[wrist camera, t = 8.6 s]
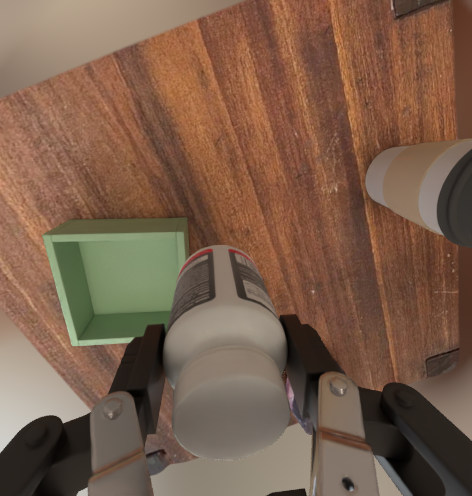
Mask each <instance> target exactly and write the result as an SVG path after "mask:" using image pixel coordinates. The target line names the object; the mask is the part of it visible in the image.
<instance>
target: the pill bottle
mask: <svg viewBox="0 0 472 496" xmlns="http://www.w3.org/2000/svg"><path fill="white" fill-rule="evenodd" d="M287 357H288V346H287V340H286V336H285V333H284V330H283V327H282V325H281V323H280V321H279V318H278V316H277V314H276V311H275V309H274V306H273V304H272V302H271V299H270V297H269V295H268V292H267V289H266V287H265V285H264V282H263V280H262V277H261V275H260V273H259V270H258V268H257V266H256V264H255V263H254V261H253V260H252V259H251V258H250V257H249V256H248V255H247V254H246V253H245V252H243V251H241V250H240V249H237V248H235V247H232V246H227V245H213V246H209V247H205V248H202V249H200V250H198V251H197V252H195V253H194V254H192V255H191V256H190V257H189V258H188V259H187V260H186V261H185V263H184V264H183V266H182V268H181V270H180V272H179V275H178V278H177V282H176V287H175V293H174V298H173V303H172V308H171V312H170V317H169V322H168V326H167V331H166V336H165V341H164V347H163V367H164V371H165V374H166V377H167V379H168V381H169V383H170V384H171V386H172V387H173V388H174V391H173V412H172V429H173V433H174V436H175V438H176V439H177V441H178V442H179V444H180V445H181V446H182V447H183V448H184V449H185V450H187V451H188V452H190V453H192V454H193V455H195V456H198V457H201V458H205V459H209V460H217V461H218V460H219V461H228V460H237V459H242V458H246V457H249V456H252V455H254V454H257V453H259V452H261V451H263V450H265V449H266V448H268V447H269V446H271V445H272V444H273V443H274V442H276V441H277V439H279V437H280V436H281V435H282V433H283V432H284V431H285V429H286V427H287V425H288V423H289V419H290V403H289V399H288V395H287V392H286V389H285V386H284V382H283V379H282V376H281V375H282V374H283V371H284V369H285V366H286V363H287Z"/></svg>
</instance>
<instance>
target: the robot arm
mask: <svg viewBox="0 0 472 496" xmlns="http://www.w3.org/2000/svg"><path fill="white" fill-rule="evenodd" d="M279 321H280V323H281V325H282V327H283V330H284V333H285V336H286V340H287V346H288V357H287V363H286V366H285V371H286V374H287V376H288V379H289V382H290V385H291V388H292V391H293V394H294V397H295V400H296V403H297V406H298V408H299V411H300V414H301V417H302V418H311V421H312V424H313V430H312V448H311V474H310V491H309V496H380V495H379V489H378V482H377V476H376V469H375V464H374V457H373V455H374V456H375V458H376V459H377V460H378V462H379V463H380V465H381V466H382V467H383V469H384V470H385V471H386V473H387V474H388V476H389V477H390V478H391V480H392V481H393V483H394V484H395V485H396V487H397V488H398V490H399V491H400V492H401V494H402V495H403V496H472V441H471V440H470V439H469V438H468V437H467V436H466V435H465V434H463V433H462V432H461V431H460V430H459V429H458V428H457V427H456V426H455V425H454V424H453V423H452V422H450V421H449V420H448V419H447V418H446V417H445V416H444V415H443V414H442V413H440V412H439V410H437V409H436V408H435V407H434V406H433V405H432V404H431V403H430V402H429V401H428V400H427V399H426V398H424V397H423V396H422V395H421V394H420V393H419V392H418V391H416V390H415V389H413V388H412V387H409V386H407V385H405V384H402V383H396V382H394V383H388V384H386V385H385V386H384V388H383V391H382V392H381V391H376V390H370V389H365V388H361V387H358V386H357V385H356V383H355V382H354V381H353V380H352V379H351V378H350V377H348V376H346V375H345V374H342V373H340V371H339V369H338V367H337V366H336V364H335V362H334V361H333V359H332V357H331V355H330V354H329V352H328V350H327V349H326V347H325V345H324V343H323V342H322V341H321V338H320V336H319V335H318V333H317V331H316V330H315V329H313V328H312V327H311V326H310V325H308V324H301V323H300V321H299V319H298V317H297V315H296V314H290V315H280V318H279ZM165 336H166V330H165V324H164V323H162V324H148V325H147V327H146V329H145V333H144V336H140V337H135V338H134V339H133V340H132V341H131V342H130V343H129V344H128V345H127V348H126V350H125V353H124V356H123V358H122V360H121V364H120V365H119V368H118V370H117V373H116V375H115V378H114V380H113V383H112V386H111V388H110V391H109V393H108V395H106V396H105V397H103V398H102V399H100V400H99V401H98V402H97V403H96V404H95V406H94V407H93V409H92V411H91V412H90V413H88V414H87V415H85V416H82V417H79V418H76V419H74V420H71V421H69V422H66V423H62V421H61V419H60V418H59V417H57V416H53V415H52V416H51V415H49V416H44V417H41V418H38V419H36V420H34V421H32V422H30V423H29V424H27V425H26V426H25V427H24V428H22V429H21V430H20V431H19V432H18V433H17V434H16V435H15V437H14V438H13V439H12V440H11V441H10V442H9V444H8V445H7V446H6V447H5V448H4V450H3V451H2V452H1V453H0V496H76V495H77V493H78V491H81V490H83V489H85V488H87V487H88V496H154V493H153V488H152V484H151V479H150V474H149V469H148V464H147V460H146V455H145V450H144V447H145V442H146V438H147V435H148V434H155V433H156V428H157V422H158V417H159V411H160V405H161V400H162V394H163V388H164V383H165V377H166V374H165V371H164V367H163V347H164V341H165ZM267 496H307V495H306V491H305V489H297V490H289V491H282V492H274V493H271V494H269V495H267Z"/></svg>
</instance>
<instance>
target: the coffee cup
mask: <svg viewBox="0 0 472 496" xmlns="http://www.w3.org/2000/svg"><path fill="white" fill-rule="evenodd" d="M365 184H366V190H367V192H368V194H369V196H370V197H371V198H372V199H373V200H374V201H376V202H378V203H380V204H382V205H384V206H386V207H388V208H390V209H391V210H392V211H393V212H395V213H396V214H398V215H400V216H402V217H404V218H406V219H408V220H410V221H412V222H414V223H416V224H418V225H420V226H422V227H424V228H426V229H428V230H430V231H432V232H434V233H436V234H440V235H444V236H445V237H446V238H447V239H448V240H450V241H451V242H453V243H455V244H457V245H460V246H466V247H470V248H472V138H471V139H460V140H450V141H440V142H429V143H420V144H415V145H412V146H401V147H392V148H389V149H386V150H384V151H383V152H381V153H380V154H379V155H377V156H376V157H375V159H374V160H373V161H372V162H371V164H370V166H369V168H368V170H367V174H366V179H365Z"/></svg>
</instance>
